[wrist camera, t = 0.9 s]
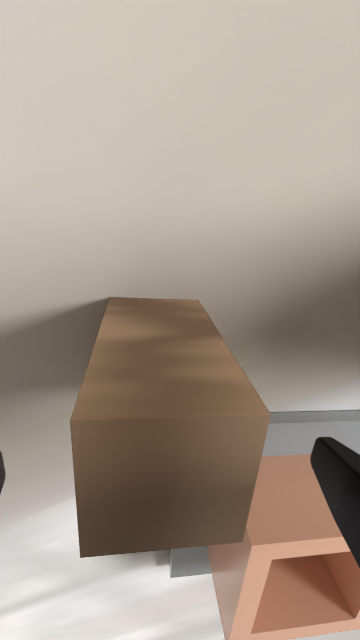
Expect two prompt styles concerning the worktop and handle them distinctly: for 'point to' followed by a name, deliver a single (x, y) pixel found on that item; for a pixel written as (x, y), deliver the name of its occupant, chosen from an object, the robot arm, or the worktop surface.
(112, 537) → the walnut block
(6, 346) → the worktop surface
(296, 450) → the terracotta well
